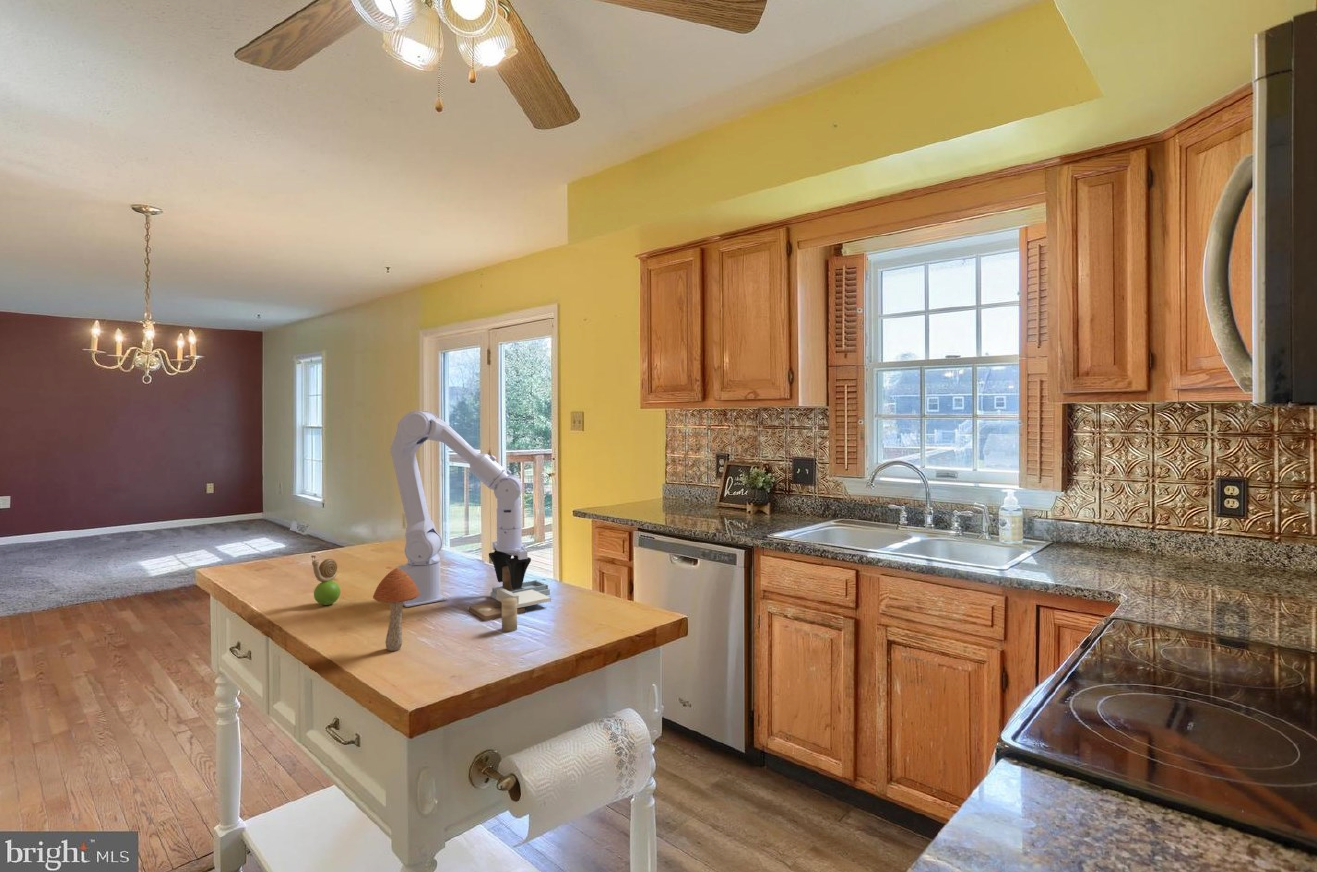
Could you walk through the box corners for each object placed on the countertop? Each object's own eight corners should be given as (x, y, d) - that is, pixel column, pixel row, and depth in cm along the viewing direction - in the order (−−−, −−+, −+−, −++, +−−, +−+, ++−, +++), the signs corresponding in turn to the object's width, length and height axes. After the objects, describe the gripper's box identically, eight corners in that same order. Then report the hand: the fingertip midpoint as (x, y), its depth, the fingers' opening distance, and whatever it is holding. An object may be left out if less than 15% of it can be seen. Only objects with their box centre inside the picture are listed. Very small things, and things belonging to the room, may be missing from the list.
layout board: (485, 620, 135) (485, 615, 135) (468, 610, 142) (468, 606, 142) (524, 612, 141) (524, 607, 141) (506, 603, 148) (506, 598, 148)
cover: (514, 608, 139) (514, 596, 139) (496, 599, 146) (496, 588, 146) (551, 601, 145) (550, 589, 145) (532, 592, 152) (531, 581, 152)
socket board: (503, 603, 148) (503, 593, 148) (490, 596, 153) (490, 587, 153) (549, 594, 155) (549, 585, 155) (535, 588, 161) (535, 579, 161)
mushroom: (429, 643, 121) (428, 564, 121) (399, 658, 114) (398, 574, 113) (395, 639, 124) (394, 561, 124) (363, 653, 116) (362, 571, 116)
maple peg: (505, 632, 128) (505, 602, 127) (499, 628, 130) (499, 599, 130) (519, 629, 129) (519, 600, 129) (513, 625, 132) (512, 596, 132)
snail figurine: (304, 607, 145) (303, 554, 144) (328, 600, 151) (327, 549, 150) (322, 610, 143) (321, 556, 142) (346, 602, 149) (345, 550, 148)
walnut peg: (508, 595, 150) (508, 569, 150) (499, 592, 152) (499, 567, 152) (518, 592, 153) (518, 567, 152) (509, 590, 154) (509, 565, 154)
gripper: (539, 529, 149) (539, 588, 149) (511, 521, 160) (511, 576, 161) (511, 533, 144) (511, 593, 145) (484, 524, 156) (484, 580, 156)
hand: (509, 584), depth 152 cm, fingers open, 7 cm apart
